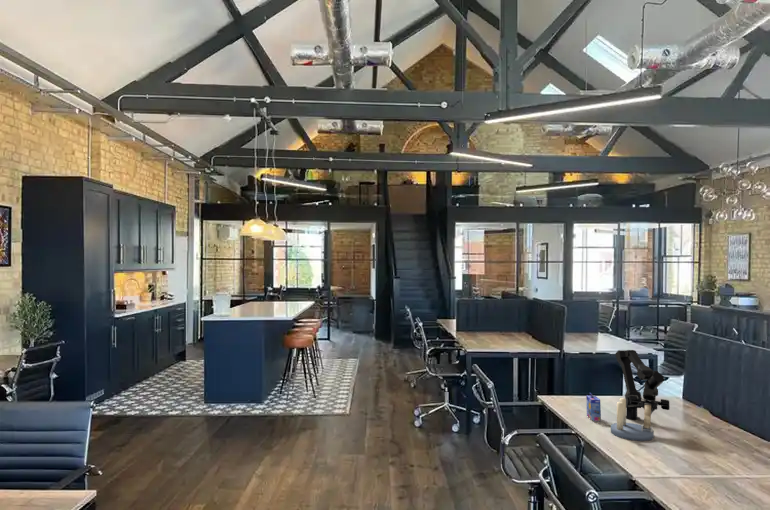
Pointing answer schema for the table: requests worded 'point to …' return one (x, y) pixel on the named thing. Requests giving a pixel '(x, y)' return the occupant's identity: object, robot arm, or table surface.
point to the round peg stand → (629, 426)
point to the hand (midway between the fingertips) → (648, 416)
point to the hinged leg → (647, 416)
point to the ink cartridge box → (593, 408)
